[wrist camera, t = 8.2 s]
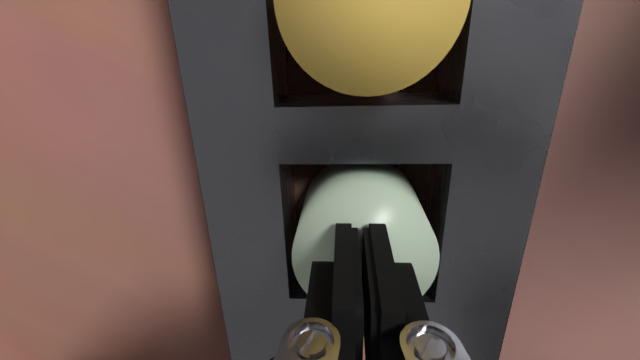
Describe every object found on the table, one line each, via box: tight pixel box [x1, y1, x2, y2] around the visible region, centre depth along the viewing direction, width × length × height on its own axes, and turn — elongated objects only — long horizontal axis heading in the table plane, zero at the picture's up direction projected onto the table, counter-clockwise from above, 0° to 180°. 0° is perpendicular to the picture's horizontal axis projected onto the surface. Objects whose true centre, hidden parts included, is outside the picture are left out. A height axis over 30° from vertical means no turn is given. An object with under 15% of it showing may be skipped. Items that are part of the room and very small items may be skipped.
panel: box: [168, 0, 583, 360], centre depth 14 cm, size 12×24×3 cm, turn 2°
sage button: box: [292, 164, 440, 296], centre depth 13 cm, size 5×5×4 cm
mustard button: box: [273, 0, 471, 97], centre depth 10 cm, size 5×5×4 cm
